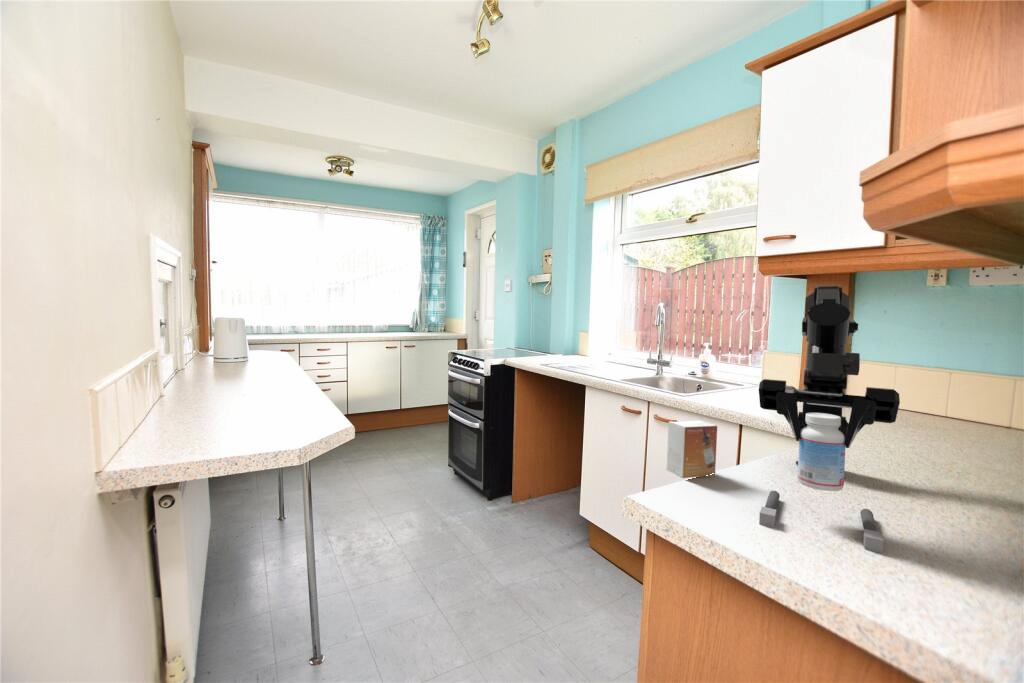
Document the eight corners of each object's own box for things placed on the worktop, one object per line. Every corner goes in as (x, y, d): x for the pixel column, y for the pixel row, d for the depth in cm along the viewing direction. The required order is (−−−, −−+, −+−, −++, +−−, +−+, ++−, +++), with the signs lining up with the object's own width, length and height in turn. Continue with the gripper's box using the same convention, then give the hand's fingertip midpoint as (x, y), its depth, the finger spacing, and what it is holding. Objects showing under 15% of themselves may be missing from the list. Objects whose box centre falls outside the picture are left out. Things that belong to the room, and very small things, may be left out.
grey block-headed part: (858, 516, 74) (859, 506, 74) (874, 520, 73) (874, 509, 73) (864, 548, 63) (865, 536, 63) (882, 553, 62) (883, 540, 62)
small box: (682, 479, 90) (684, 427, 90) (665, 470, 96) (667, 420, 95) (716, 476, 92) (718, 425, 92) (698, 467, 98) (699, 419, 97)
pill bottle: (851, 494, 69) (855, 420, 68) (806, 490, 70) (810, 418, 69) (831, 480, 75) (835, 412, 74) (790, 477, 76) (794, 410, 75)
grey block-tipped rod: (767, 498, 81) (768, 488, 81) (780, 500, 80) (781, 490, 80) (759, 524, 71) (759, 512, 71) (774, 527, 69) (774, 516, 69)
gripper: (762, 333, 79) (751, 405, 71) (901, 337, 69) (908, 422, 60) (765, 373, 86) (755, 443, 78) (892, 382, 76) (897, 464, 67)
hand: (821, 443), depth 71 cm, fingers closed on pill bottle, 6 cm apart
